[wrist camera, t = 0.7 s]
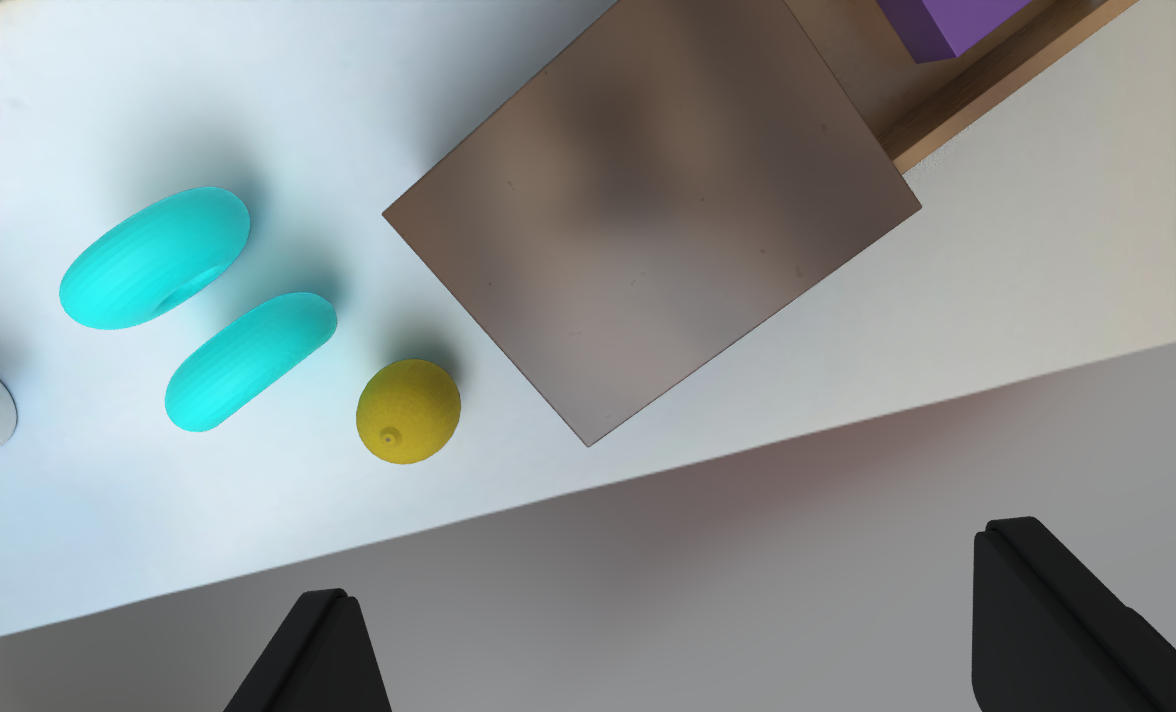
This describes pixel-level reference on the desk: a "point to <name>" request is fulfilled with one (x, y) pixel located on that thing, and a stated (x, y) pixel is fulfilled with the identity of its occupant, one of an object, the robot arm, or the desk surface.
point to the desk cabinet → (652, 200)
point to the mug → (6, 415)
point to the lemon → (408, 411)
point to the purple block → (945, 24)
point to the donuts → (177, 272)
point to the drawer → (940, 66)
